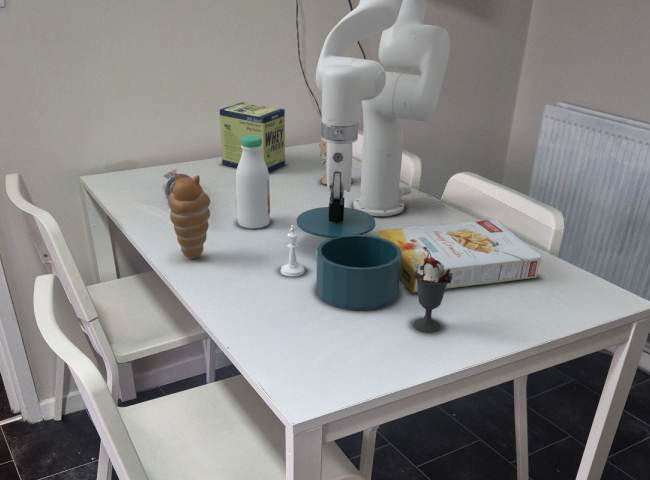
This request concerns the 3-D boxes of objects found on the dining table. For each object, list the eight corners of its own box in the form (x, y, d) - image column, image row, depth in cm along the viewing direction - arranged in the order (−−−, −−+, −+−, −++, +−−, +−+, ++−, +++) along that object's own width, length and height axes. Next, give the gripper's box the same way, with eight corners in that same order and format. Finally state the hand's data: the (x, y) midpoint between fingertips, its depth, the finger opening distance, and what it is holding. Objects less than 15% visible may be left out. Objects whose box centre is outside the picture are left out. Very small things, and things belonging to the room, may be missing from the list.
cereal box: (377, 228, 152) (495, 215, 159) (375, 252, 155) (491, 239, 162) (415, 270, 136) (544, 254, 143) (412, 296, 140) (539, 278, 146)
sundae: (404, 317, 132) (412, 241, 124) (440, 316, 133) (450, 240, 124) (412, 335, 127) (420, 257, 118) (449, 334, 127) (460, 256, 119)
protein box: (265, 174, 199) (263, 116, 190) (221, 164, 206) (217, 108, 197) (286, 165, 206) (285, 108, 197) (243, 155, 213) (240, 101, 204)
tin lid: (337, 206, 166) (338, 180, 163) (391, 227, 156) (393, 200, 152) (280, 223, 157) (280, 196, 153) (333, 247, 146) (334, 218, 143)
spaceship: (170, 200, 159) (201, 183, 160) (149, 169, 189) (176, 155, 189) (186, 230, 164) (217, 214, 164) (164, 195, 193) (190, 181, 193)
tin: (357, 266, 150) (359, 228, 145) (415, 293, 140) (419, 253, 135) (299, 288, 142) (299, 248, 137) (356, 319, 132) (359, 277, 127)
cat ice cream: (218, 252, 156) (212, 170, 145) (206, 267, 149) (199, 182, 139) (179, 248, 157) (172, 166, 147) (166, 263, 151) (157, 178, 141)
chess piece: (308, 269, 149) (309, 224, 143) (296, 278, 145) (296, 232, 140) (289, 264, 151) (288, 219, 145) (276, 272, 147) (275, 226, 142)
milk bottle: (265, 230, 166) (263, 143, 154) (233, 227, 167) (229, 141, 156) (273, 218, 172) (272, 133, 161) (242, 215, 173) (239, 131, 162)
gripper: (357, 143, 138) (352, 233, 148) (358, 122, 152) (353, 206, 162) (319, 141, 139) (316, 231, 149) (323, 121, 152) (320, 204, 162)
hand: (336, 217), depth 155 cm, fingers closed on tin lid, 2 cm apart
